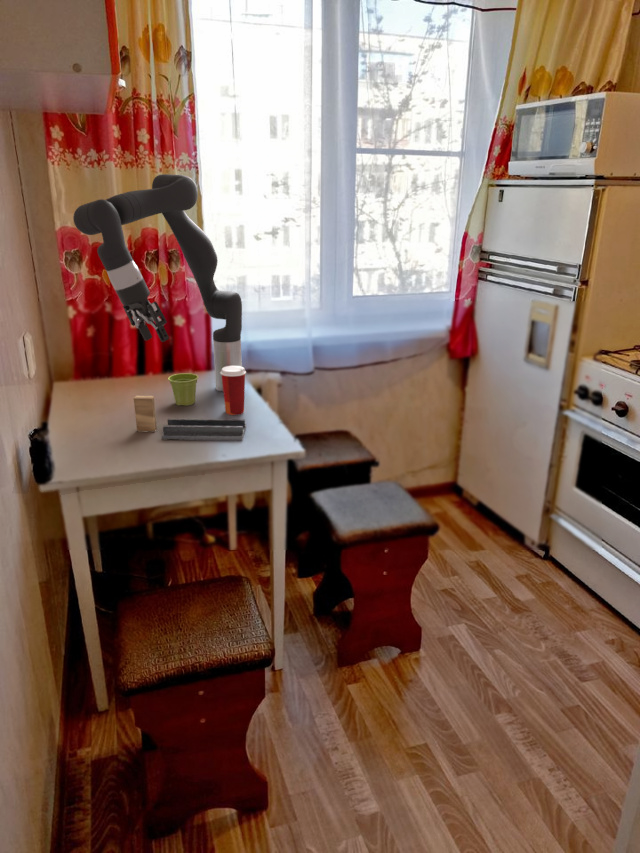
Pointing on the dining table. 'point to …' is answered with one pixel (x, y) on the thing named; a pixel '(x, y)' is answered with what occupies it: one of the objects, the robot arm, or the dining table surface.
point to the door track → (204, 429)
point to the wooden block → (145, 413)
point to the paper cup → (233, 389)
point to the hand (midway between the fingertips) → (157, 339)
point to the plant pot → (184, 388)
